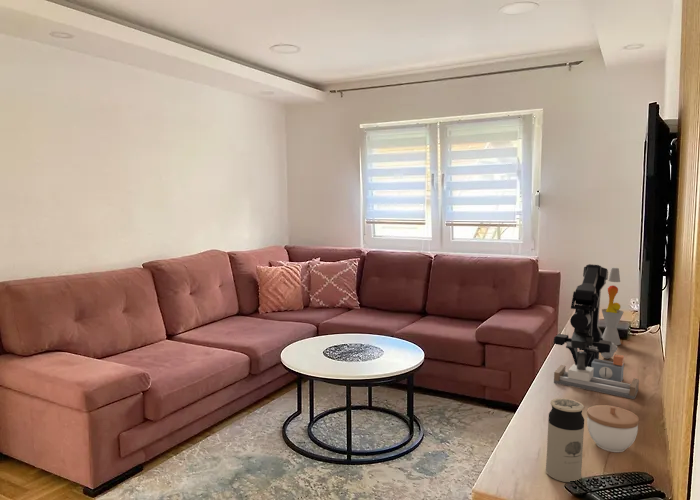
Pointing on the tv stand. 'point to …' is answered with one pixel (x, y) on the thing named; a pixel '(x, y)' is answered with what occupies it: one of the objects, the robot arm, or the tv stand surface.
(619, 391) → the rail board
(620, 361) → the block
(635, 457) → the tv stand surface
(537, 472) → the tv stand surface
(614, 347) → the grey faceted rock
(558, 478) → the travel mug
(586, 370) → the carriage
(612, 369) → the box
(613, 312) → the lava lamp
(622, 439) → the lidded bowl
